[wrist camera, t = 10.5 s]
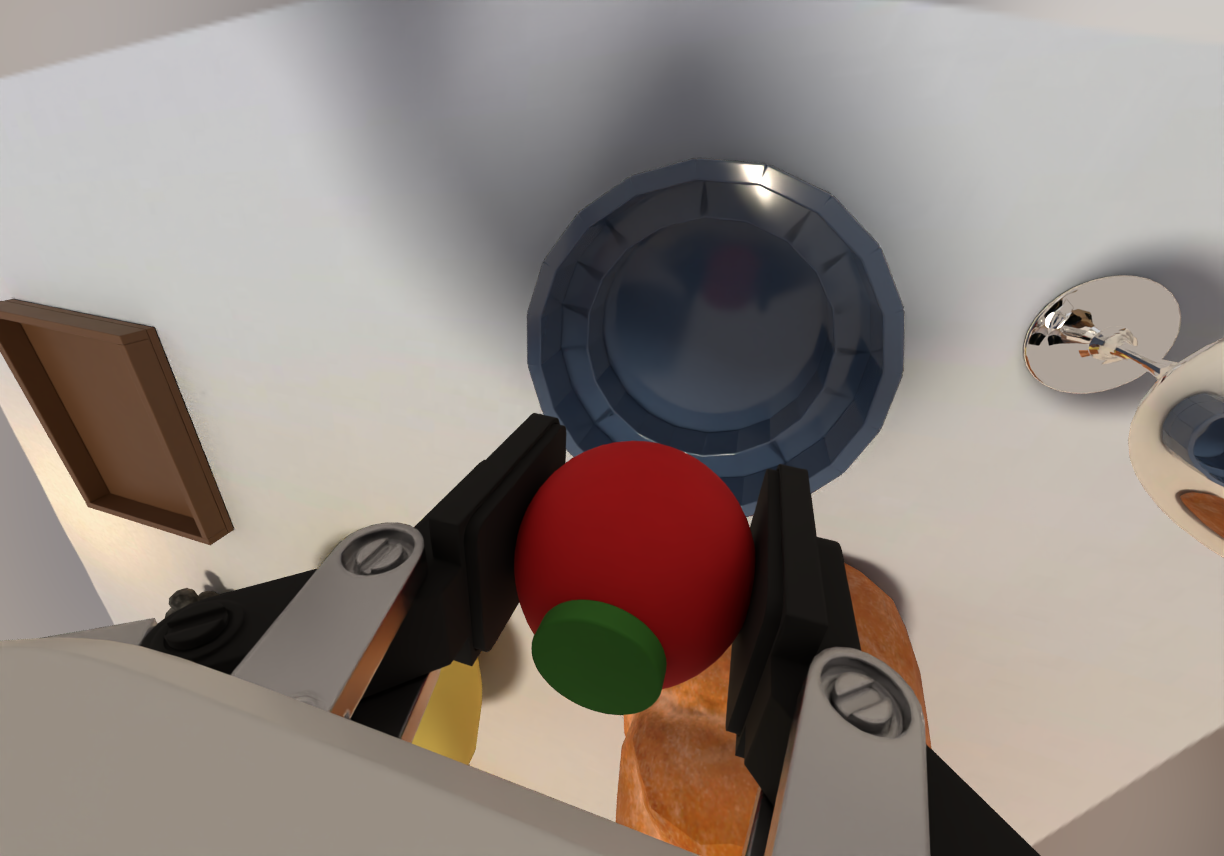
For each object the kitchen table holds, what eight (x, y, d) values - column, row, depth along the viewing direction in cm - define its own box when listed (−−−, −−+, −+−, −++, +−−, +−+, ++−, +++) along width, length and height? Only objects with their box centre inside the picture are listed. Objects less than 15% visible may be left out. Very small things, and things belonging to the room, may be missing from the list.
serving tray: (12, 298, 34) (-27, 305, 32) (154, 327, 31) (119, 336, 30) (115, 494, 42) (88, 507, 41) (234, 529, 40) (210, 545, 38)
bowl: (576, 150, 20) (524, 143, 15) (927, 179, 17) (981, 180, 13) (566, 430, 26) (528, 479, 22) (821, 483, 23) (833, 551, 19)
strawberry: (568, 385, 10) (445, 515, 6) (781, 426, 9) (789, 607, 5) (563, 541, 12) (468, 710, 8) (735, 587, 11) (718, 801, 8)
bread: (682, 797, 39) (639, 1111, 26) (637, 538, 28) (523, 856, 15) (872, 839, 35) (937, 1243, 22) (907, 552, 24) (1082, 1020, 11)
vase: (320, 641, 44) (59, 913, 28) (308, 492, 35) (-96, 772, 18) (499, 727, 42) (332, 1073, 26) (539, 594, 33) (316, 1006, 17)
